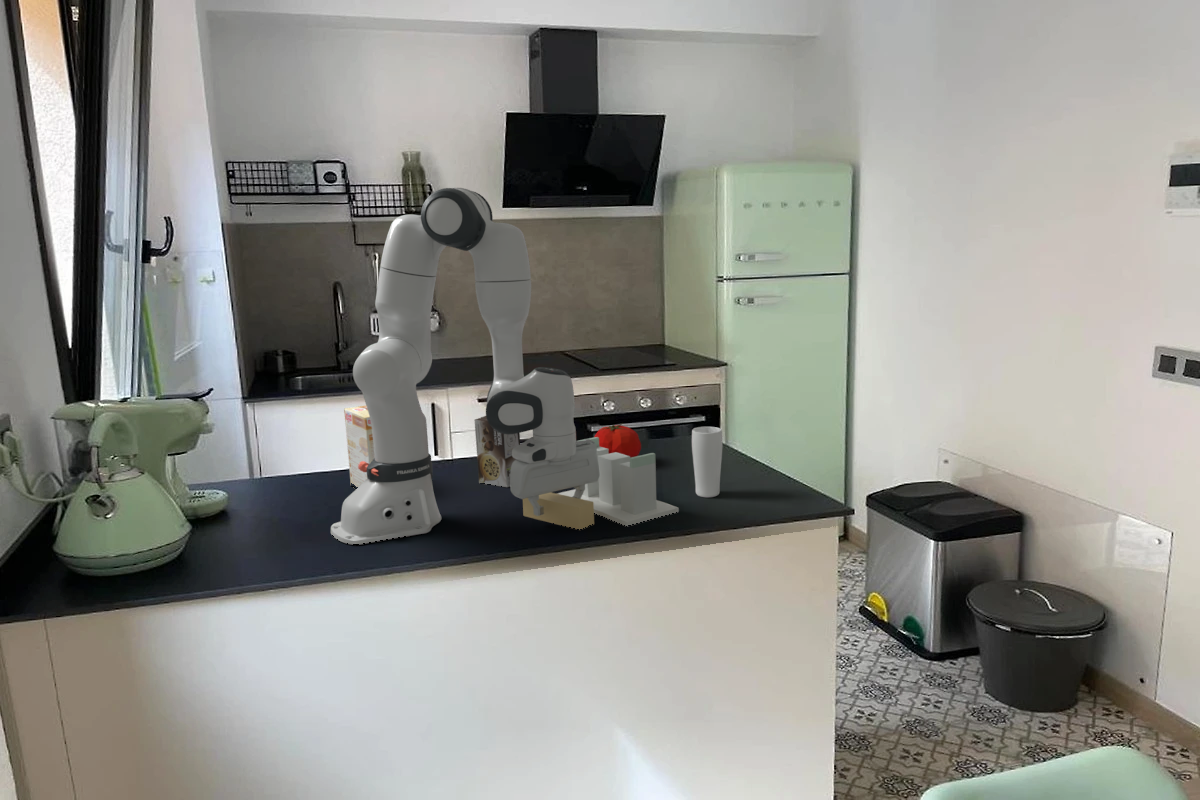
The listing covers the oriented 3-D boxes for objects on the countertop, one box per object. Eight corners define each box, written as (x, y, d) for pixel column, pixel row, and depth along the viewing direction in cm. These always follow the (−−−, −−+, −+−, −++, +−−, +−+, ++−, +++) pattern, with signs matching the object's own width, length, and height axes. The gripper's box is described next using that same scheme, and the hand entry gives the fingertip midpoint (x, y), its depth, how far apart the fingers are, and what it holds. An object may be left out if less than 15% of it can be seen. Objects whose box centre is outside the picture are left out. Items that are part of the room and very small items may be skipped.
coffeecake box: (400, 494, 203) (394, 413, 199) (371, 500, 199) (363, 417, 195) (378, 480, 215) (371, 404, 211) (349, 486, 211) (342, 407, 207)
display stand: (626, 526, 175) (624, 464, 172) (556, 498, 195) (553, 442, 193) (678, 512, 183) (677, 452, 180) (605, 486, 204) (603, 432, 201)
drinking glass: (721, 499, 190) (721, 433, 187) (691, 498, 192) (690, 433, 189) (723, 490, 197) (723, 426, 194) (693, 489, 198) (693, 426, 195)
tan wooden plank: (579, 531, 174) (578, 507, 173) (523, 516, 184) (522, 494, 183) (594, 525, 177) (593, 501, 176) (538, 511, 187) (537, 489, 186)
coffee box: (523, 481, 210) (520, 416, 207) (507, 488, 205) (503, 421, 202) (494, 476, 215) (490, 413, 212) (477, 483, 209) (473, 418, 206)
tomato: (611, 457, 230) (610, 418, 228) (650, 462, 223) (649, 422, 221) (581, 468, 220) (579, 428, 218) (621, 475, 212) (620, 433, 210)
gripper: (587, 435, 186) (589, 496, 189) (504, 451, 174) (508, 516, 177) (604, 440, 181) (606, 503, 184) (520, 457, 169) (524, 524, 172)
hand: (557, 510), depth 180 cm, fingers open, 8 cm apart
